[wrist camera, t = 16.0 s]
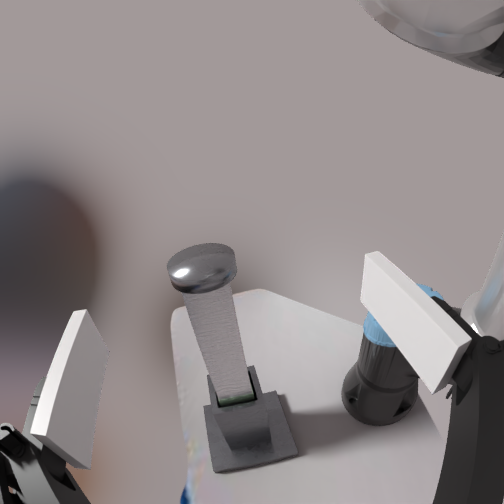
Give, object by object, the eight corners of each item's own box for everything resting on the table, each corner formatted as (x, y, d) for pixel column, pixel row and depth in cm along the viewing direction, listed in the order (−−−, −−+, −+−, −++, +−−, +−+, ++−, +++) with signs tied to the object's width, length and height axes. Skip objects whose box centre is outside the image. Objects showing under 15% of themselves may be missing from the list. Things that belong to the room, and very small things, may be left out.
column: (218, 401, 41) (168, 250, 28) (257, 392, 42) (229, 238, 29) (224, 433, 36) (165, 284, 23) (266, 424, 37) (240, 269, 24)
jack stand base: (205, 409, 48) (181, 358, 41) (276, 394, 50) (270, 340, 42) (215, 473, 36) (187, 437, 28) (298, 455, 38) (299, 414, 30)
